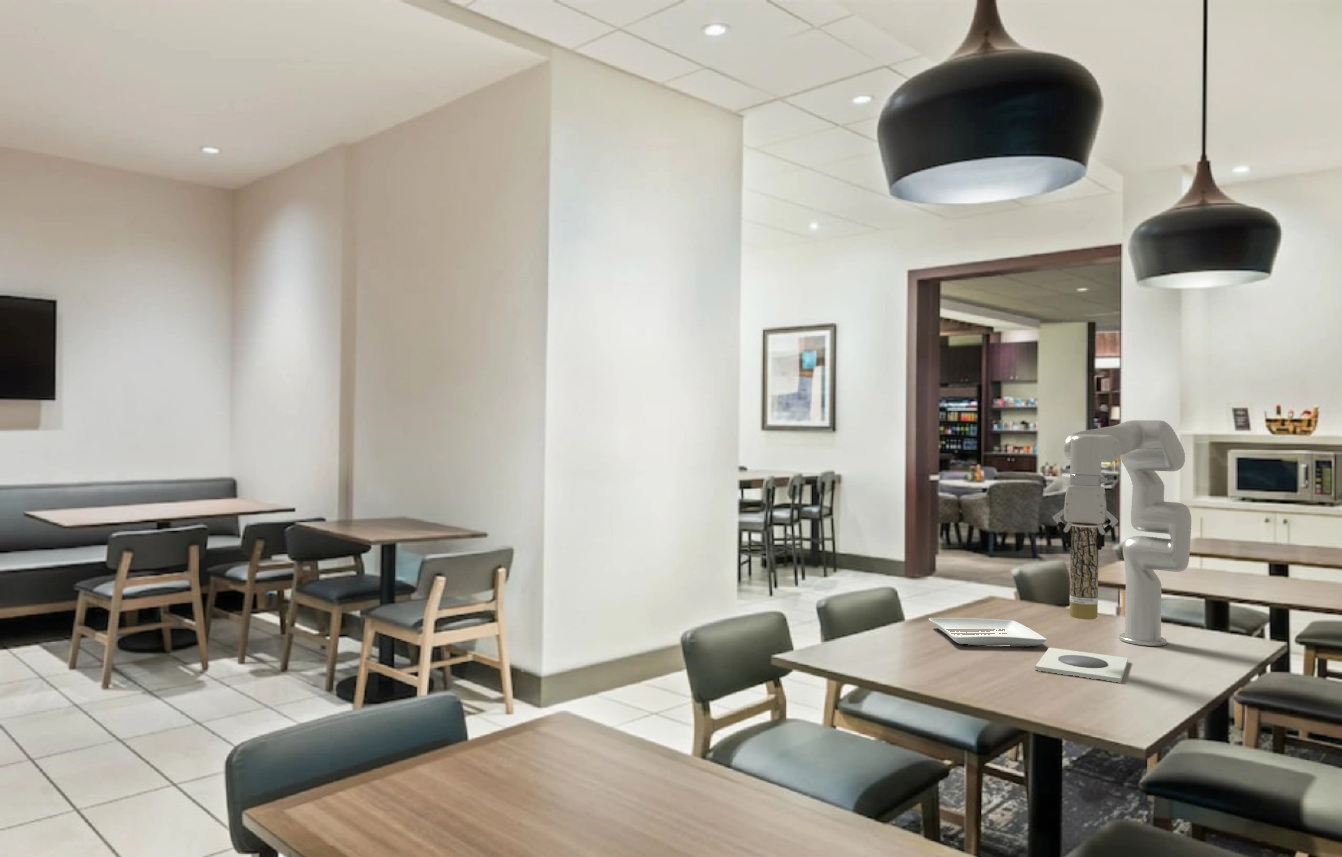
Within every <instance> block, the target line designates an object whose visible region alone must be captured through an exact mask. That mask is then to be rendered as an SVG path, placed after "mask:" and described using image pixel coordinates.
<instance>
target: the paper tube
mask: <svg viewBox="0 0 1342 857" xmlns="http://www.w3.org/2000/svg"><path fill="white" fill-rule="evenodd" d="M1070 530H1071V547H1070V553H1069V555H1070V556H1069V557H1070V561H1069V562H1070V565H1069V566H1070V567H1069V616H1070V617H1072V618H1075V619H1078V620H1084V621H1085V620H1087V621H1088V620H1089V621H1090V620H1091V621H1092V620H1096V619H1097V618H1098V611H1099V610H1098V609H1099V608H1098V605H1099V604H1098V602H1099V551H1100V550H1099V549H1098V535H1099V530H1098V528H1097V526H1096V525H1095V524H1078V523H1073V524H1072V525H1071V529H1070Z"/></svg>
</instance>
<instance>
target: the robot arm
mask: <svg viewBox="0 0 1342 857" xmlns="http://www.w3.org/2000/svg"><path fill="white" fill-rule="evenodd" d="M1063 453H1064V455H1065V457H1066V458H1067V459H1068V460H1070V461H1069V462H1070V464H1069V467H1070V468H1069V470H1070V472H1069V474H1070V476H1069V485H1067V487H1066V490H1065V496H1064V506H1063V508H1062V509H1061V510H1060V511H1058V512H1057V513H1056V514H1054V515H1053V516H1052V519H1053V521H1054V522H1055V523H1056V524H1057V525H1058V527H1060V528H1061V530H1062V531H1063V532H1064V544H1065V545H1066V547H1067V548H1070V547H1071V525H1072V524H1073V523H1078V524H1095V525H1096V526H1097V528H1098V530H1099V535H1098V549H1099V551H1100V550H1102V549H1103V547H1105V543H1106V542H1105V541H1106V540H1105V538H1106V536H1105V535H1106V534H1107V533H1108V532H1109V531H1111V530H1112V529H1113V528H1114V527H1115V526H1116V525H1117V524H1118V523H1119V519H1117V518H1116V517H1115V516H1114V515H1113V514H1111V513H1110V512H1109V511H1108V510H1107V497H1106V490H1105V487H1104V486H1102V484H1107V483H1108V478H1107V477H1104V476H1102V463H1113V462H1115V461H1117V460H1118V459H1119V458H1120V460H1121V463H1122V464H1123V466H1124V467H1125V470H1126V472H1127V474H1128V475H1129V477H1130V480H1131V485H1132V491H1131V493H1132V495H1131V505H1130V506H1131V507H1130V508H1131V509H1130V523H1131V526H1132V528H1133V529H1135V530H1137V531H1139V532H1145V533H1155V534H1165V535H1170V538H1164V537H1156V536H1144V535H1134V536H1131V537H1128V538H1126V540H1124V542H1123V544H1122V556H1123V561H1124V568H1125V605H1124V606H1125V610H1124V611H1125V612H1124V613H1125V614H1124V615H1125V616H1124V618H1125V619H1124V624H1125V625H1124V632H1122V633H1120V634H1118V639H1119V640H1120V641H1121V642H1122V641H1123V642H1124V643H1128V644H1133V645H1138V646H1148V647H1161V646H1162V645H1163V646H1166V645H1167V641H1168V640H1167V639H1166V638H1164V637H1162V583H1161V580H1160V578H1159V577H1158V575H1157V573H1156V572H1155V570H1156V571H1165V572H1174V573H1175V572H1177V573H1181V572H1184V571H1186V570H1187V568H1188V566H1189V562H1190V556H1191V555H1190V553H1191V539H1192V538H1191V536H1192V534H1191V533H1192V513H1191V511H1190V508H1189V507H1188V506H1187V505H1186V504H1184V503H1181V502H1174V501H1165V483H1164V481H1163V480H1162V478H1161V476H1159V474H1158V473H1157V472H1177V471H1179V470H1181V469H1182V468H1183V467H1184V465H1185V462H1186V453H1185V450H1184V447H1183V445H1182V443H1181V441H1180V438H1179V437H1178V435H1177V434H1176V432H1175V430H1174V429H1173V427H1172V426H1171V425H1170V424H1169V423H1168V422H1166V421H1164V420H1159V419H1158V420H1154V419H1153V420H1152V419H1151V420H1149V419H1148V420H1144V419H1142V420H1141V419H1138V420H1136V419H1135V420H1127V421H1124V422H1121V423H1118V424H1116V425H1112V426H1104V427H1100V428H1099V427H1098V428H1094V429H1093V428H1091V429H1087V430H1080V431H1076V432H1073V433H1072V434H1070V435H1068V436H1067V438H1066V439H1065V440H1064V443H1063ZM1061 517H1063V519H1064V521H1065V522H1066V523H1065V522H1064V521H1062V519H1061ZM1107 519H1108V521H1109V520H1110V523H1108V524H1107V525H1106V526H1104V523H1106V522H1107Z"/></svg>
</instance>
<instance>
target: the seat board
mask: <svg viewBox="0 0 1342 857" xmlns="http://www.w3.org/2000/svg"><path fill="white" fill-rule="evenodd" d="M1128 663H1129V658H1128V657H1125V656H1116V655H1109V654H1101V653H1094V652H1087V651H1078V650H1071V649H1064V648H1056V647H1048V648H1047V650H1046V651H1045V652H1044V654H1043V655H1042V656H1041V657H1040V659H1039V660H1038V662H1037V663H1036V664H1035V666H1034V667H1035V670H1038V671H1037V672H1041V671H1047V672H1046V673H1048V672H1052V673H1051V674H1054V673H1057V674H1056V675H1061V674H1063V675H1062V676H1068V675H1073V676H1072V677H1075V676H1079V677H1078V678H1082V677H1086V678H1085V679H1089V678H1091V680H1096V679H1102V680H1101V681H1103V680H1107V681H1106V682H1109V681H1112V683H1116V682H1118V683H1119V684H1121V683H1122V682H1121V681H1123V679H1122V678H1124V676H1123V675H1125V673H1124V672H1126V670H1125V669H1127V667H1126V666H1128ZM1035 670H1034V671H1035ZM1118 683H1117V684H1118Z"/></svg>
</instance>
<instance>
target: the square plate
mask: <svg viewBox="0 0 1342 857" xmlns="http://www.w3.org/2000/svg"><path fill="white" fill-rule="evenodd" d="M928 620H929V621H930V622H931V623H932V624H933V625H934V626H935V627H936V628H937V629H938V630H940V631H941V632H943V633H944V634H946V635H947V636H948V637H949V638H950V639H952V640H953V641H954V642H956V643H957V644H959V645H963V644H968V645H967V646H970V645H1010V646H1026V647H1033V646H1034V647H1035V646H1037V647H1038V646H1040V645H1042V644H1044V643H1045V642H1046V641H1048V639H1047V637H1045V636H1043V635H1041V634H1040V633H1038V632H1037V631H1035V630H1032V629H1031V628H1029V627H1027V626H1025V625H1024V624H1022V623H1020V622H1017V621H1016V620H1011V619H993V618H992V619H991V618H977V617H929V618H928ZM946 629H995V630H994V631H990V632H986V631H985V632H981V631H979V632H967V633H995V634H990V635H988V634H986V635H984V634H982V635H981V634H979V635H976V634H975V635H962V634H960V635H957V634H955V635H954V634H951V633H966V632H960V631H959V632H956V631H955V632H950V631H948V630H946ZM999 629H1001V630H1002V629H1005V631H1004V630H1003V631H998V630H999ZM996 630H997V631H996ZM999 633H1001V634H999ZM1002 633H1007V634H1002Z"/></svg>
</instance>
